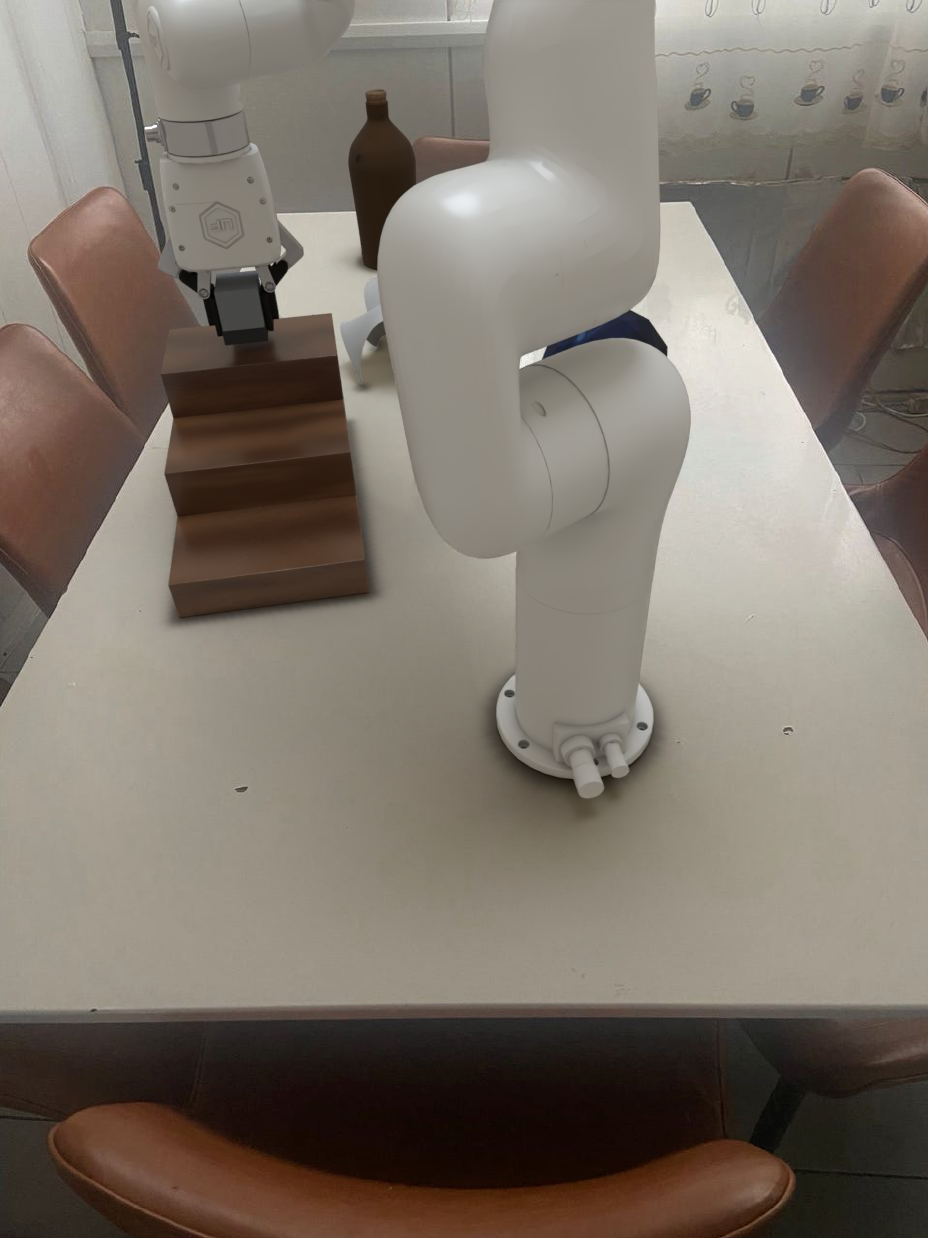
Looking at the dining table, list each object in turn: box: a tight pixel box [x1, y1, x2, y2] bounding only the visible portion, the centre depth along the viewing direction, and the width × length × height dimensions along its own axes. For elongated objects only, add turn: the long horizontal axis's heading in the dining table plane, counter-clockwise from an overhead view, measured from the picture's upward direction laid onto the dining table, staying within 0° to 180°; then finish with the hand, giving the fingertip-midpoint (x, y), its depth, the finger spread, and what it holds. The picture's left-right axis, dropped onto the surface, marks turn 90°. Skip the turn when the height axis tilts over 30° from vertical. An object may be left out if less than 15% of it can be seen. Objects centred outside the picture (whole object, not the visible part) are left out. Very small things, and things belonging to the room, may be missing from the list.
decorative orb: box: [541, 309, 669, 360], centre depth 102 cm, size 14×15×15 cm
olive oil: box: [347, 88, 417, 270], centre depth 142 cm, size 11×11×25 cm
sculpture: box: [339, 277, 386, 386], centre depth 122 cm, size 25×19×10 cm
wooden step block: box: [160, 312, 370, 618], centre depth 92 cm, size 33×18×14 cm, turn 9°
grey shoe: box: [214, 269, 268, 346], centre depth 92 cm, size 8×4×6 cm, turn 9°
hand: (245, 326), depth 93 cm, fingers closed on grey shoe, 4 cm apart
